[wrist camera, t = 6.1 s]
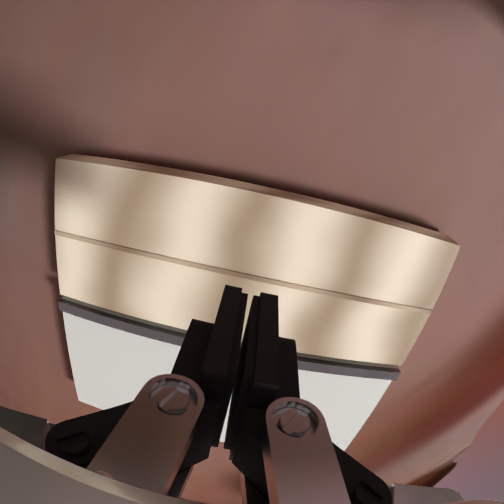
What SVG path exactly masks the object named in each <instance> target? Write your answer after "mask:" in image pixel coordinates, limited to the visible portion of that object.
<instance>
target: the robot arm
mask: <svg viewBox="0 0 504 504" xmlns="http://www.w3.org/2000/svg"><path fill="white" fill-rule="evenodd" d="M247 299H248V294H246V293H242V288H239V287H235V286H230V285H225V288H224V291H223V295H222V298H221V302H220V305H219V309H218V312H217V316H216V319H215V323H209V322H205V321H201V320H196V319H192V320H191V322H190V325H189V328H188V330H187V333H186V335H185V338H184V340H183V343H182V346H181V348H180V351H179V353H178V356H177V359H176V361H175V364H174V366H173V369H172V372H171V374H163V375H157V376H155V377H153V378H151V379H150V380H149V381H148V382H147V383H146V384H145V385H144V386H143V387H142V389H141V390H140V392H139V393H138V395H137V396H136V397H135V399H134V400H133V401H131V402H128V403H125V404H122V405H119V406H115V407H112V408H109V409H105V410H102V411H99V412H95V413H92V414H88V415H85V416H81V417H77V418H74V419H70V420H66V421H63V422H60V423H58V424H56V425H55V424H51V423H49V422H48V419H44V418H40V417H36V416H33V415H29V414H25V413H22V412H18V411H15V410H11V409H8V408H5V407H2V406H0V504H201V503H196V502H191V501H187V500H182V499H180V497H181V495H182V493H183V491H184V488H185V486H186V484H187V481H188V479H189V477H190V474H191V472H192V470H193V465H195V464H197V463H199V462H201V461H203V460H205V459H207V458H208V456H209V452H210V448H211V446H213V447H218V444H219V441H220V437H221V433H222V429H223V425H224V422H225V418H226V414H227V410H228V406H229V403H230V399H231V403H230V409H229V416H228V422H227V429H226V435H225V442H224V449H229V450H230V457H229V460H232V463H233V464H234V465H235V466H236V467H237V468H238V469H239V470H240V471H241V475H240V483H241V495H242V504H504V502H500V501H493V500H466V501H464V500H463V498H462V497H461V495H460V494H459V493H457V492H456V491H454V490H452V489H448V488H434V487H423V486H413V485H404V484H397V483H394V484H393V485H392V486H387V484H386V483H385V482H384V481H383V480H382V479H380V478H379V477H378V476H376V475H375V474H374V473H372V472H371V471H369V470H368V469H367V468H365V467H364V466H363V465H361V464H360V463H359V462H357V461H356V460H355V459H353V458H352V457H351V456H350V455H348V454H347V453H346V452H344V451H343V450H342V449H340V448H339V447H338V446H337V445H335V444H334V443H333V442H332V440H331V437H330V434H329V431H328V427H327V424H326V421H325V418H324V416H323V414H322V412H321V411H320V410H319V409H318V408H317V407H316V406H315V405H313V404H312V403H310V402H309V401H306V400H304V399H301V398H300V390H299V376H298V363H297V350H296V341H295V340H294V339H288V338H283V337H279V310H278V295H273V294H268V293H263V292H261V293H260V296H255V295H253V298H252V302H251V306H250V311H249V315H248V319H247V323H246V327H245V331H244V335H243V339H242V333H243V326H244V319H245V312H246V305H247ZM241 339H242V343H241ZM240 346H241V347H240ZM231 395H232V396H231Z"/></svg>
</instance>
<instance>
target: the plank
mask: <svg viewBox="0 0 504 504" xmlns="http://www.w3.org/2000/svg"><path fill="white" fill-rule="evenodd" d="M54 235H55V239H56V256H57V269H58V279H59V289H60V294H61V295H64V296H67V297H70V298H73V299H76V300H79V301H82V302H86V303H89V304H92V305H95V306H99V307H102V308H105V309H109V310H112V311H116V312H119V313H123V314H126V315H130V316H133V317H137V318H141V319H144V320H148V321H152V322H156V323H160V324H164V325H168V326H172V327H176V328H180V329H184V330H188V328H189V325H190V322H191V320H192V319H196V320H201V321H205V322H209V323H215V319H216V316H217V312H218V309H219V305H220V302H221V298H222V295H223V291H224V288H225V285H230V286H235V287H239V288H242V293H246V294H248V299H247V305H246V312H245V319H244V326H243V333H242V339H243V335H244V331H245V327H246V323H247V319H248V315H249V311H250V306H251V302H252V298H253V295H255V296H260V293H261V292H263V293H268V294H273V295H278V310H279V337H283V338H288V339H294V340H295V341H296V350H297V352H298V353H305V354H311V355H318V356H324V357H331V358H339V359H346V360H354V361H362V362H371V363H380V364H389V365H399V366H401V365H402V364H403V362H404V360H405V359H406V357H407V355H408V354H409V352H410V350H411V348H412V347H413V345H414V343H415V341H416V340H417V338H418V336H419V334H420V332H421V330H422V328H423V327H424V325H425V323H426V321H427V319H428V317H429V315H430V314H431V313H432V309H433V307H434V305H435V303H436V301H437V299H438V297H439V295H440V293H441V291H442V288H443V286H444V284H445V282H446V280H447V277H448V275H449V273H450V271H451V268H452V266H453V264H454V261H455V259H456V256H457V254H458V252H459V249H460V247H461V246H460V245H459V244H458V243H457V242H455V241H454V240H453V239H452V238H450V237H449V236H448V235H446V234H443V233H440V232H437V231H433V230H430V229H427V228H424V227H420V226H417V225H414V224H410V223H407V222H403V221H400V220H397V219H393V218H390V217H386V216H382V215H379V214H375V213H372V212H368V211H364V210H361V209H357V208H353V207H349V206H345V205H341V204H338V203H334V202H330V201H326V200H322V199H318V198H313V197H309V196H305V195H301V194H297V193H292V192H288V191H284V190H279V189H275V188H270V187H266V186H261V185H257V184H252V183H247V182H242V181H237V180H233V179H228V178H223V177H217V176H212V175H207V174H202V173H196V172H191V171H185V170H180V169H174V168H168V167H162V166H156V165H150V164H144V163H137V162H131V161H124V160H117V159H110V158H103V157H95V156H87V155H79V154H70V155H66V156H63V157H59V158H56V165H55V230H54ZM242 339H241V342H242Z"/></svg>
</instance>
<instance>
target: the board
mask: <svg viewBox="0 0 504 504" xmlns="http://www.w3.org/2000/svg"><path fill="white" fill-rule="evenodd" d="M58 306H59V310H60V311H63V317H64V325H65V332H66V339H67V345H68V351H69V356H70V362H71V367H72V372H73V377H74V382H75V386H76V391H77V395H78V399H79V401H81V402H84V403H86V404H89V405H92V406H94V407H97V408H100V409H103V410H105V409H109V408H112V407H115V406H119V405H122V404H125V403H128V402H131V401H133V400H134V399H135V397H136V396H137V395H138V393H139V392H140V390H141V389H142V387H143V386H144V385H145V384H146V383H147V382H148V381H149V380H150V379H151V378H153V377H155V376H157V375H163V374H171V372H172V369H173V366H174V364H175V361H176V359H177V356H178V353H179V351H180V348H181V346H182V343H183V340H184V338H185V335H186V333H187V330H184V329H180V328H176V327H172V326H168V325H164V324H160V323H156V322H152V321H148V320H144V319H141V318H137V317H133V316H130V315H126V314H123V313H119V312H116V311H112V310H109V309H105V308H102V307H99V306H95V305H92V304H89V303H86V302H82V301H79V300H76V299H73V298H70V297H67V296H63V297H62V298H61V299H60V300H59V301H58ZM241 343H242V342H241ZM240 347H241V346H240ZM297 363H298V376H299V390H300V398H301V399H304V400H306V401H309V402H310V403H312V404H313V405H315V406H316V407H317V408H318V409H319V410H320V411H321V412H322V414H323V416H324V418H325V421H326V424H327V427H328V431H329V434H330V437H331V440H332V442H333V443H334V444H335V445H337V446H338V447H339V448H340V449H342V450H343V451H344V450H345V449H346V448H347V446H348V445H349V444H350V442H351V441H352V440H353V438H354V437H355V436H356V434H357V433H358V431H359V430H360V428H361V427H362V426H363V424H364V423H365V421H366V420H367V418H368V417H369V415H370V414H371V412H372V411H373V409H374V408H375V406H376V405H377V403H378V402H379V400H380V399H381V397H382V395H383V394H384V392H385V391H386V389H387V387H388V386H389V384H390V383H391V381H392V380H397V378H398V376H399V375H400V370H399V368H398V366H397V365H389V364H380V363H371V362H362V361H354V360H346V359H339V358H331V357H324V356H318V355H311V354H305V353H298V352H297ZM231 396H232V395H231ZM230 403H231V399H230ZM230 403H229V406H228V410H227V414H226V418H225V422H224V425H223V429H222V433H221V437H220V441H222V442H225V435H226V429H227V422H228V416H229V409H230Z"/></svg>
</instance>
